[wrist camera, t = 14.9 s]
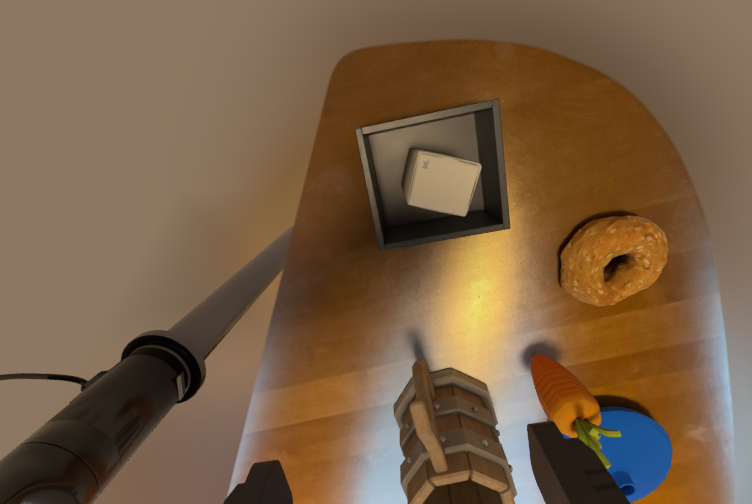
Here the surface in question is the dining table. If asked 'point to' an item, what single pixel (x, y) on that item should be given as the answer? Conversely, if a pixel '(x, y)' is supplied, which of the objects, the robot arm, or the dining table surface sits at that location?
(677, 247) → the dining table surface
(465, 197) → the box
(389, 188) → the bin
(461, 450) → the tankard
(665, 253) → the bagel
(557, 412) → the carrot
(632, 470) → the vase
